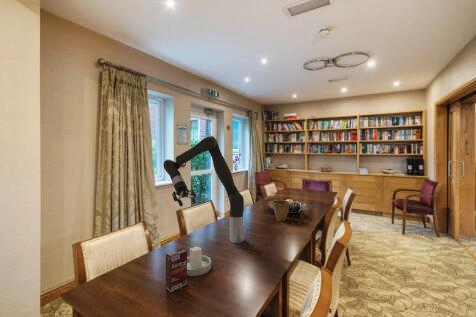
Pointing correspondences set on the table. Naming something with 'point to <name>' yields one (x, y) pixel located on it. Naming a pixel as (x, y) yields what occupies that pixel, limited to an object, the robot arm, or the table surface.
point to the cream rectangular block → (195, 257)
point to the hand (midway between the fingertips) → (188, 204)
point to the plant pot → (281, 209)
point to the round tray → (199, 270)
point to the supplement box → (176, 269)
